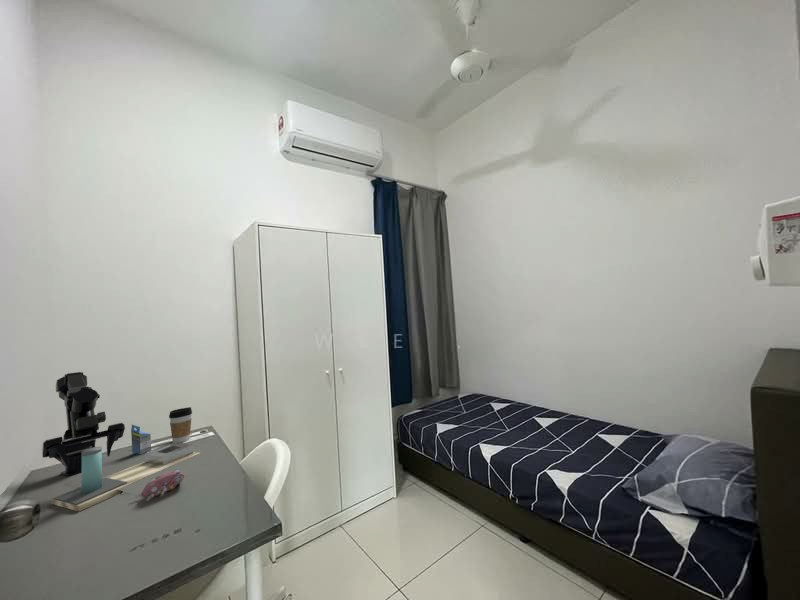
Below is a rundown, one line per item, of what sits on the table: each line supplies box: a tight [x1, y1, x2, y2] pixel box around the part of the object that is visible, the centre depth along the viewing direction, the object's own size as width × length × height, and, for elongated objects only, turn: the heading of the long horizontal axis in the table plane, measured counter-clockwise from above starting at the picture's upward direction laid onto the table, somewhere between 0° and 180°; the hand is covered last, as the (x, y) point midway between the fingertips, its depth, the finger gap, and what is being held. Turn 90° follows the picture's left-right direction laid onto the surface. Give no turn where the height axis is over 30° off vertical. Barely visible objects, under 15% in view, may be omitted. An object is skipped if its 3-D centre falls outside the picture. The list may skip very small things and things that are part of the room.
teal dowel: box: [81, 446, 103, 494], centre depth 94 cm, size 4×4×12 cm
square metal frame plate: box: [143, 442, 195, 466], centre depth 116 cm, size 11×11×3 cm
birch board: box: [51, 451, 200, 513], centre depth 104 cm, size 15×35×2 cm, turn 159°
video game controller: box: [141, 469, 185, 499], centre depth 93 cm, size 10×5×7 cm, turn 143°
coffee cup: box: [168, 406, 193, 444], centre depth 134 cm, size 8×8×15 cm
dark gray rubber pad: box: [53, 477, 127, 505], centre depth 94 cm, size 12×12×1 cm
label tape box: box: [130, 423, 152, 455], centre depth 125 cm, size 9×4×12 cm, turn 59°
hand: (89, 461), depth 97 cm, fingers open, 9 cm apart
